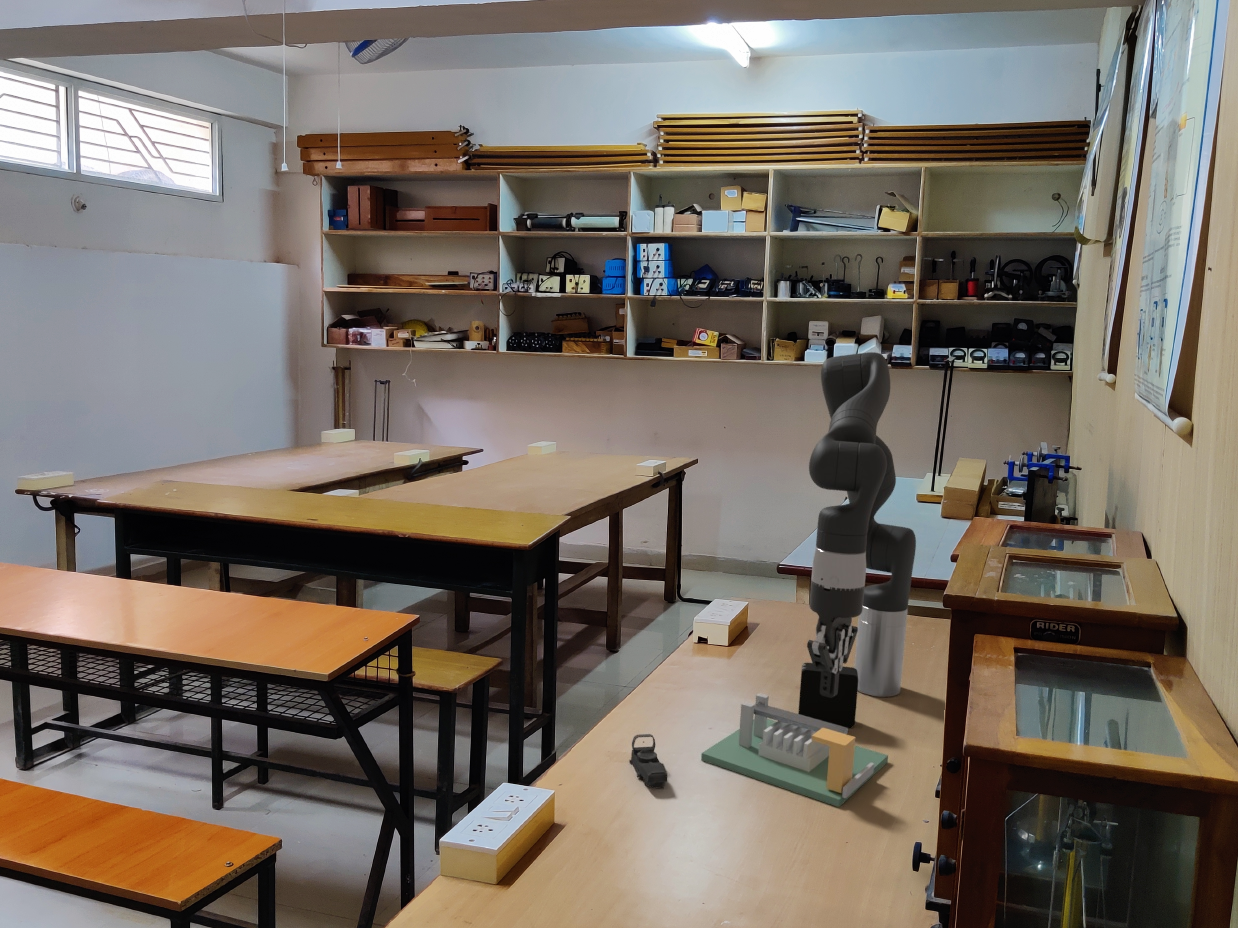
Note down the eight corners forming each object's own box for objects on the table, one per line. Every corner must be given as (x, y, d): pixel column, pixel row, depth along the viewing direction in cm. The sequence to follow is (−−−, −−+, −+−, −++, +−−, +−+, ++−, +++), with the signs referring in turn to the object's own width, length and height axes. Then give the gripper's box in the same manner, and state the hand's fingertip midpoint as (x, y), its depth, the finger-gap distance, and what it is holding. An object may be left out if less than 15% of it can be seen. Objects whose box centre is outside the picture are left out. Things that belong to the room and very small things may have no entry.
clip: (819, 773, 155) (822, 727, 154) (851, 783, 152) (855, 736, 151) (808, 782, 152) (811, 735, 151) (841, 793, 149) (845, 745, 148)
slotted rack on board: (758, 722, 177) (761, 677, 176) (890, 762, 163) (895, 714, 162) (701, 759, 161) (704, 711, 160) (842, 808, 147) (847, 755, 146)
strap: (756, 706, 168) (757, 700, 168) (848, 732, 158) (848, 726, 158) (746, 712, 165) (747, 707, 165) (839, 739, 156) (839, 733, 155)
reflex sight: (643, 792, 150) (645, 761, 149) (629, 762, 160) (630, 733, 159) (668, 791, 151) (670, 760, 150) (652, 761, 160) (653, 732, 160)
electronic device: (854, 729, 177) (858, 675, 175) (797, 722, 178) (801, 669, 177) (853, 719, 181) (858, 667, 179) (798, 713, 183) (802, 661, 181)
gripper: (832, 567, 149) (823, 677, 151) (793, 582, 138) (784, 700, 141) (880, 576, 145) (870, 689, 147) (844, 593, 134) (833, 714, 136)
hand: (828, 695), depth 144 cm, fingers closed
